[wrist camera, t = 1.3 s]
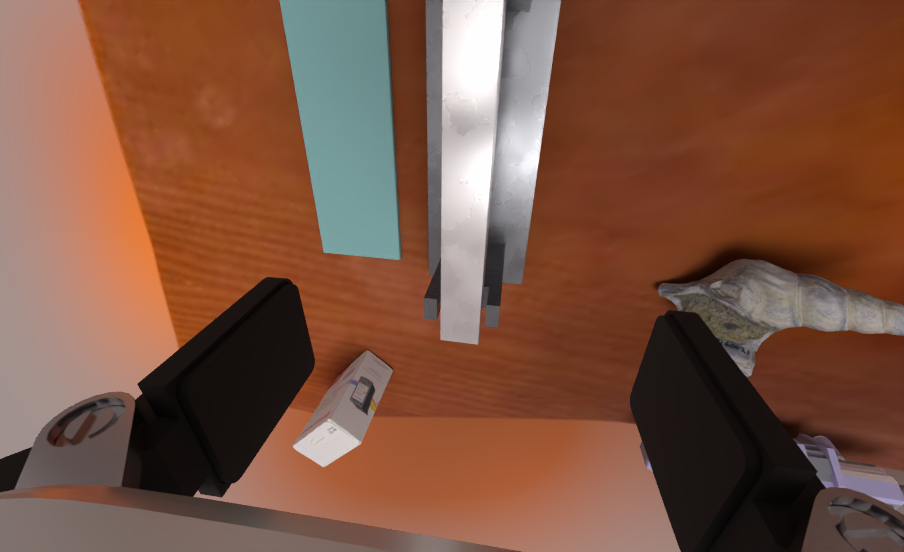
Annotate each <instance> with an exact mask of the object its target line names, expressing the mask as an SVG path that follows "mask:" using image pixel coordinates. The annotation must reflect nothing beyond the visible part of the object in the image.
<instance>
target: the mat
mask: <svg viewBox="0 0 904 552" xmlns="http://www.w3.org/2000/svg"><path fill="white" fill-rule="evenodd" d="M280 5H281V11H282V17H283V22H284V28H285V34H286V39H287V45H288V51H289V57H290V62H291V68H292V74H293V79H294V85H295V91H296V96H297V102H298V108H299V114H300V119H301V125H302V131H303V136H304V142H305V148H306V153H307V159H308V165H309V171H310V176H311V182H312V188H313V193H314V199H315V205H316V210H317V216H318V222H319V228H320V233H321V239H322V245H323V250H324V253H334V254H345V255H355V256H365V257H375V258H385V259H395V260H400V259H401V240H400V222H399V204H398V186H397V168H396V150H395V132H394V114H393V96H392V77H391V59H390V41H389V23H388V5H387V0H280Z"/></svg>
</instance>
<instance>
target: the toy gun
mask: <svg viewBox="0 0 904 552" xmlns="http://www.w3.org/2000/svg"><path fill="white" fill-rule="evenodd" d="M793 440H794V441H795V442H796V443H797V445H798V446H799V447H800V449H801V450H802V451H803V453H804V454H805V455H806V457H807V458H808V459H809V461H810V462H811V463H812V465H813V466H814V467H815V469H816V470H817V471H818V472H817V473H816V475H817V476H818V478H819V479H820V480H821V482H822V483H823V484H824V486H825V487H826V488H829V487H840V488H848V489H851V490H855V491H858V492H861V493H864V494H867V495H869V496H871V497H873V498H875V499H877V500H880V501H882V502H884V503H885V504H887V505H889V506H890V507H892V508H893V509H895V510H897V509H898V508H899V507H900V506H901V505H904V486H903V485H898V483H897V482H896V481H895V480H894V478H893V477H890V476H887V475H886V473H885V471H884V469H882V468H876V467H875V466H874V465H872V464H865V463H858V462H851V461H845V458H844V457H843V456H842V455H841V454H840V452H839V451H838V450H837V449H836V447H835V446H834V445H833V444H832V442H831V441H830V440H829V439H828V438H826V437H824V436H820V435H819V436H815V437H813V438H812V437H810V436H808V435H806V434H799V435H798V436H797V437H796V438H793ZM640 448H641V452H642V455H643V458H644V461H645V465H646V467H647V468H648V469H650V470H651V471H652V468H651V465H650V462H649V459H648V456H647V453H646V451H645V448H644V445H643V442H642V443H641V445H640ZM652 472H653V471H652Z"/></svg>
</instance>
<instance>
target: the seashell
mask: <svg viewBox="0 0 904 552" xmlns="http://www.w3.org/2000/svg"><path fill="white" fill-rule="evenodd" d="M658 294H659V295H660V296H662V297H665V298H667V299H669V300H671V301H672V302H673V303H674V304H675V305H676V307H677V309H678V311H685V312H695V313H697V314H698V315H699V316H700V317H701V318H702V319H703V321H704V322H705V323H706V325H707V326H708V327H709V329H710V330H711V331H712V333H713V334H714V335H715V337H716V338H717V339H718V341H719V342H720V343H721V345H722V346H723V347H724V348H725V350H726V351H727V352H728V354H729V355H730V356H731V358H732V359H733V360H734V362H735V363H736V364H737V366H738V367H739V368H740V370H741V371H742V372H743V374H744V375H745V376H747V377H749V376H751V374H752V370H753V367H754V366H755V352H757V350H758V347H759V346H760V344H761V343H762V342H763V341H764V340H765V339H767V338H768V337H769V336H770V335H771V334H773V333H774V332H777V331H780V330H782V329H785V328H789V327H801V326H805V327H809V328H813V329H817V330H822V331H844V330H852V331H856V332H860V333H865V334H875V333H889V334H894V335H900V336H904V305H902V304H900V303H896V302H892V301H887V300H882V299H879V298H877V297H874V296H872V295H870V294H868V293H865V292H862V291H859V290H855V289H849V288H841V287H840V286H838V285H836V284H834V283H832V282H830V281H828V280H826V279H824V278H822V277H819V276H817V275H812V274H802V273H793V272H792V271H789V270H785V269H783V268H780V267H778V266H776V265H774V264H771V263H769V262H767V261H764V260H750V259H739V260H735V261H732V262H730V263H729V264H727V265H725V266H723V267H722V268H720V269H719V270H717V271H716V272H714V273H713V274H711V275H709V276H708V277H706V278H703V279H701V280H697V281H693V282H689V283H686V284H668V283H662V284H660V285H659V289H658Z"/></svg>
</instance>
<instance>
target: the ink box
mask: <svg viewBox="0 0 904 552" xmlns="http://www.w3.org/2000/svg"><path fill="white" fill-rule="evenodd" d="M392 372H393V370H392V369H391V368H390V367H389V366H388V365H387V364H385V363H384V362H383V361H382V360H380V359H379V358H378V357H376V356H375V355H374V354H373V353H371V352H370V351H369V350H366V351H365V352H364V353H363V354H362V355H361V356H359V357H358V358H357V359H356V360H355V361H354V362H353V363H352V364H351V365H350V366H348V367H347V368H346V369H345V370H344V371H343V372H342V373H341V374H340V375H338V376H337V377H336V378H335V380H334V381H333V383H332V384H331V386H330V388H329V389H328V391H327V392H326V394H325V395H324V397H323V399H322V400H321V402H320V403H319V405H318V407H317V408H316V410H315V411H314V413H313V415H312V416H311V418H310V419H309V421H308V422H307V424H306V426H305V427H304V429H303V430H302V432H301V433H300V435H299V437H298V438H297V440H296V441H295V443H294V444H293V447H294V448H295V450H297V451H299V452H300V453H302V454H303V455H305V456H306V457H308V458H310V459H311V460H313V461H315V462H316V463H317V464H319V465H320V466H322V467H325V466H327V465H328V464H330V463H331V462H333V461H334V460H336V459H337V458H339V457H341V456H342V455H344V454H345V453H347V452H349V451H350V450H352V449H353V448H355V447H356V446H358V445H360V444H361V442H362V440H363V438H364V435H365V433H366V430H367V428H368V426H369V424H370V422H371V419H372V417H373V415H374V413H375V410H376V408H377V406H378V404H379V401H380V399H381V397H382V394H383V392H384V390H385V388H386V385H387V383H388V381H389V379H390V376H391V374H392Z"/></svg>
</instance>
